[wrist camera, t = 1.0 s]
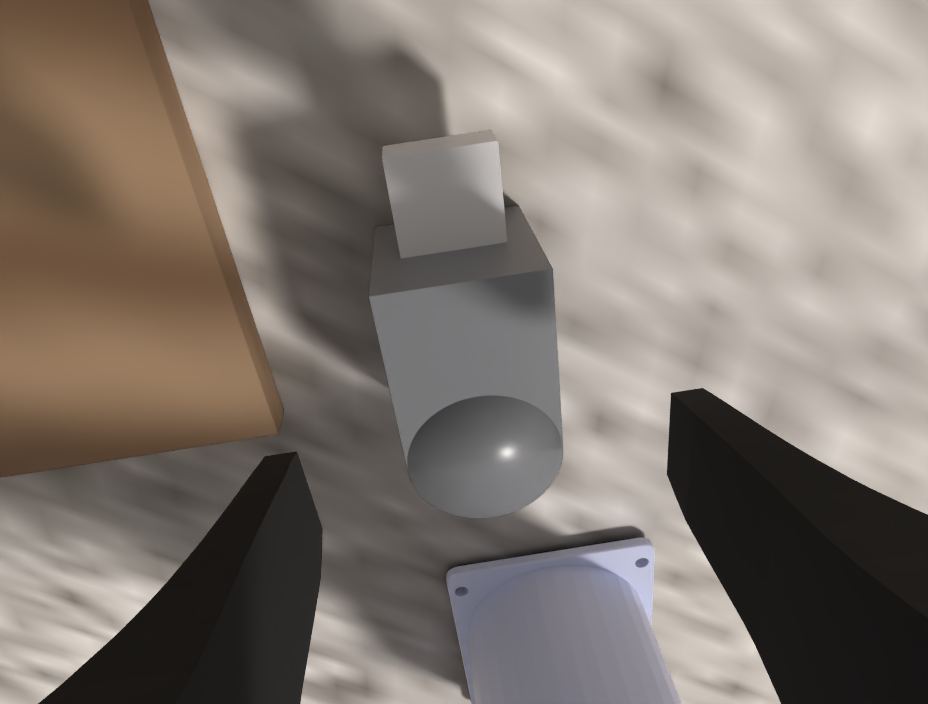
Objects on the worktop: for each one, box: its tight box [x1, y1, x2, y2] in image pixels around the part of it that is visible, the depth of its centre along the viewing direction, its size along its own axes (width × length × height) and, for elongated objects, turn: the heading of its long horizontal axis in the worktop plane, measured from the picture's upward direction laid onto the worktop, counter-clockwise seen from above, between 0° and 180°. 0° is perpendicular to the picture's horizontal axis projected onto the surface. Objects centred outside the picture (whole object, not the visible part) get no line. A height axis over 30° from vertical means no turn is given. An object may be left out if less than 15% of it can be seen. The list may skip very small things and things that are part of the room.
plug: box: [369, 130, 563, 518], centre depth 17 cm, size 9×4×4 cm, turn 7°
